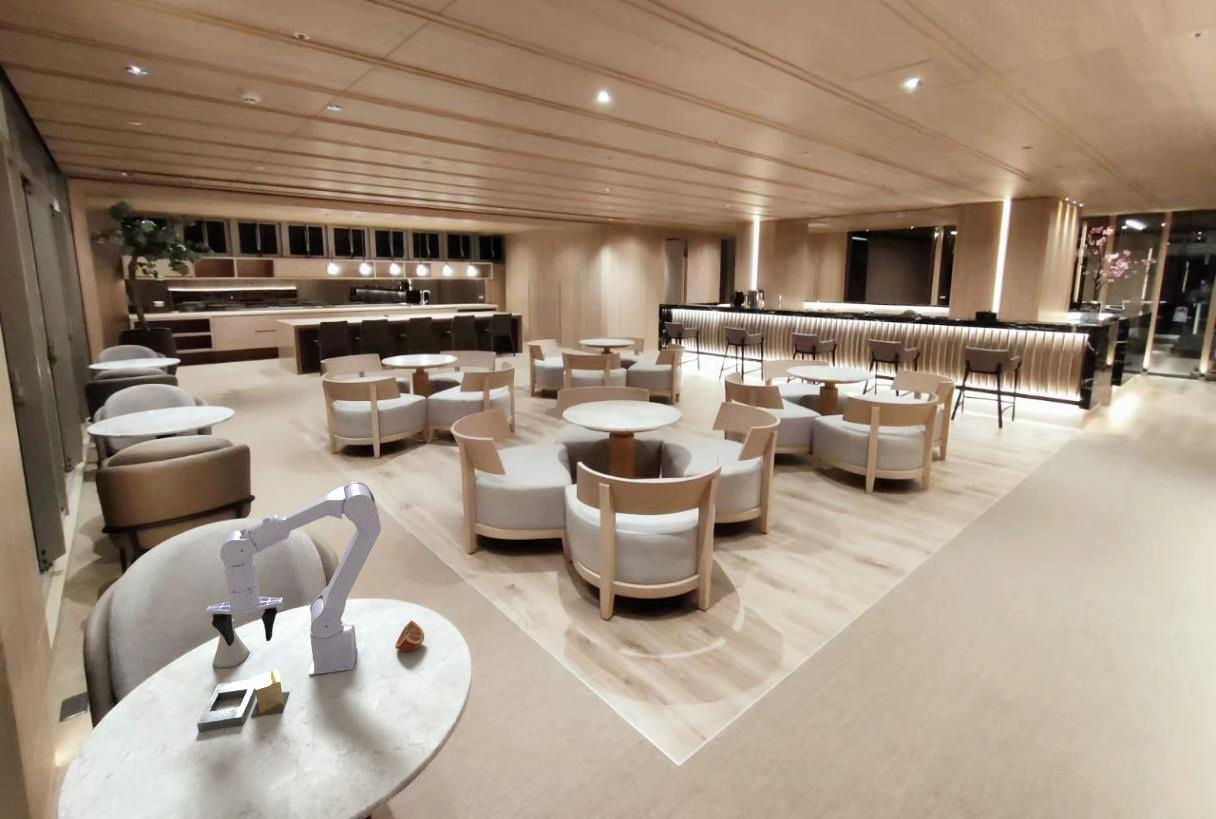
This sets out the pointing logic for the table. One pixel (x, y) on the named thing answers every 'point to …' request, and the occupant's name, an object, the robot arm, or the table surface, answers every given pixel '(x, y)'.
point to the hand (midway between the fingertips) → (250, 640)
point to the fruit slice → (410, 637)
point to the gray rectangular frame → (227, 716)
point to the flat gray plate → (276, 710)
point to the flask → (230, 652)
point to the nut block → (268, 691)
